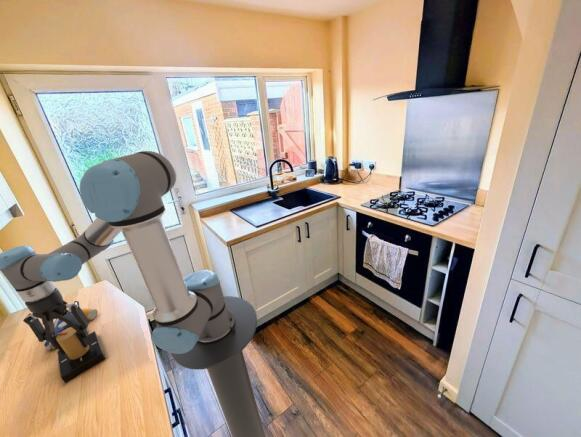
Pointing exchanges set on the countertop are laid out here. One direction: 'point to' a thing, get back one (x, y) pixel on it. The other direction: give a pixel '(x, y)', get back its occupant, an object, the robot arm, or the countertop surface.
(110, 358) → the countertop surface
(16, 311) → the countertop surface
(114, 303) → the countertop surface
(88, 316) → the spray gun
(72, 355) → the brass dial cylinder
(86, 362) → the black dial panel
